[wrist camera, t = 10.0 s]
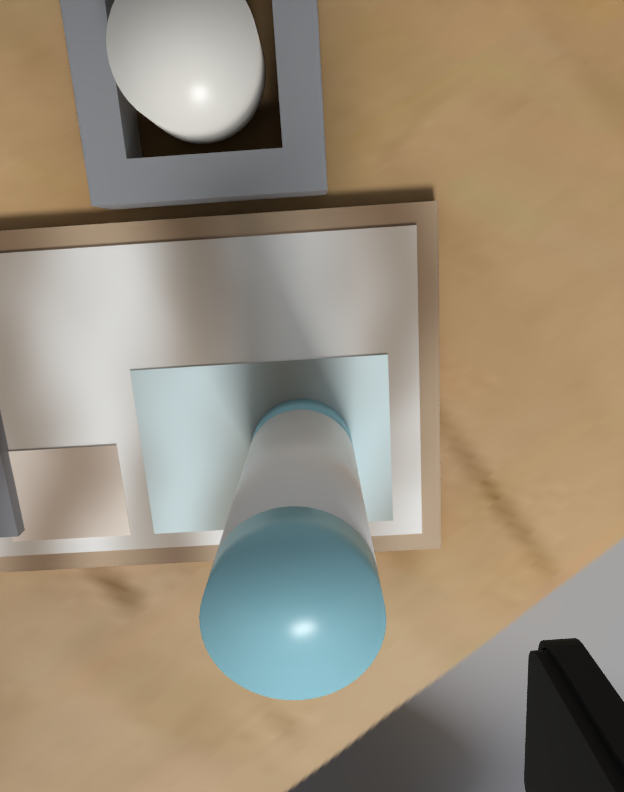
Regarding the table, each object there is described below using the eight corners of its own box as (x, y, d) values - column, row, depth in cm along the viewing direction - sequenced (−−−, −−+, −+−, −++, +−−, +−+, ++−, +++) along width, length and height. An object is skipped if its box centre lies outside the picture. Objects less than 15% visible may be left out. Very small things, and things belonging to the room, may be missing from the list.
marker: (247, 401, 22) (188, 544, 12) (349, 395, 22) (383, 532, 12) (256, 495, 23) (210, 704, 13) (354, 489, 23) (389, 694, 13)
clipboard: (-18, 567, 25) (-34, 582, 24) (-96, 238, 22) (-119, 237, 20) (438, 542, 25) (444, 557, 23) (435, 201, 21) (441, 198, 20)
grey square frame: (112, 209, 21) (91, 206, 19) (75, -40, 19) (48, -72, 17) (326, 194, 21) (327, 189, 19) (312, -58, 19) (311, -92, 17)
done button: (142, 148, 19) (118, 134, 17) (123, 2, 18) (94, -36, 16) (271, 139, 19) (264, 124, 17) (259, -9, 18) (251, -48, 16)
